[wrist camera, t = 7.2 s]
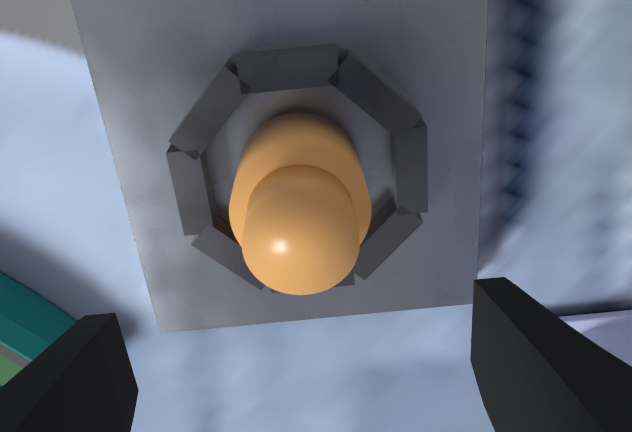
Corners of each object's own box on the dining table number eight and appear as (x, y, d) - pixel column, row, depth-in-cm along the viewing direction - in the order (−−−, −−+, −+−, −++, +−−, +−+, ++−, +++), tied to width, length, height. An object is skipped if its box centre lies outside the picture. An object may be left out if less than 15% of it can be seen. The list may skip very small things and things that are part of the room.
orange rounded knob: (355, 105, 18) (375, 164, 14) (363, 218, 20) (383, 302, 16) (229, 119, 18) (208, 181, 14) (248, 230, 20) (235, 317, 16)
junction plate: (475, -48, 18) (501, -44, 15) (465, 281, 23) (484, 319, 21) (86, -8, 18) (56, 2, 16) (167, 309, 23) (154, 350, 21)
